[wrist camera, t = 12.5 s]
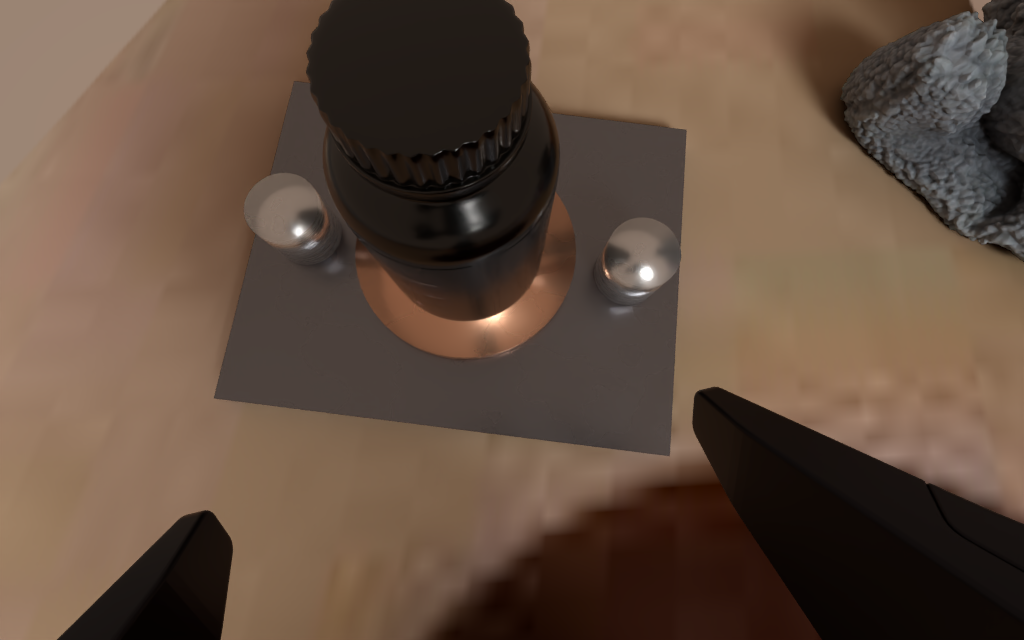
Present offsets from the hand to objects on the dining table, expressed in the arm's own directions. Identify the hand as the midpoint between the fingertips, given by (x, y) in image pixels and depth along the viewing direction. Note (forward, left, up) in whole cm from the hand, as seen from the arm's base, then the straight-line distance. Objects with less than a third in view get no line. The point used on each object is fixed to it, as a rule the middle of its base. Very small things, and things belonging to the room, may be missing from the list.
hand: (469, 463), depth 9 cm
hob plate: (+2, -8, -13) cm, 16 cm away
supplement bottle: (+2, -8, -12) cm, 14 cm away
